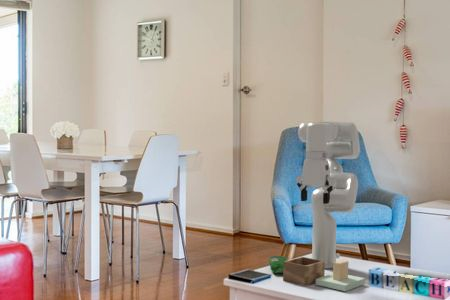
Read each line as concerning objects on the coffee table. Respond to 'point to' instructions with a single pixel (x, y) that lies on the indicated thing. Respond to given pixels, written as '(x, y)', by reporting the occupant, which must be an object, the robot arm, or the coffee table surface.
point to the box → (303, 270)
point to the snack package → (277, 263)
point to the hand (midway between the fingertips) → (314, 202)
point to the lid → (340, 278)
